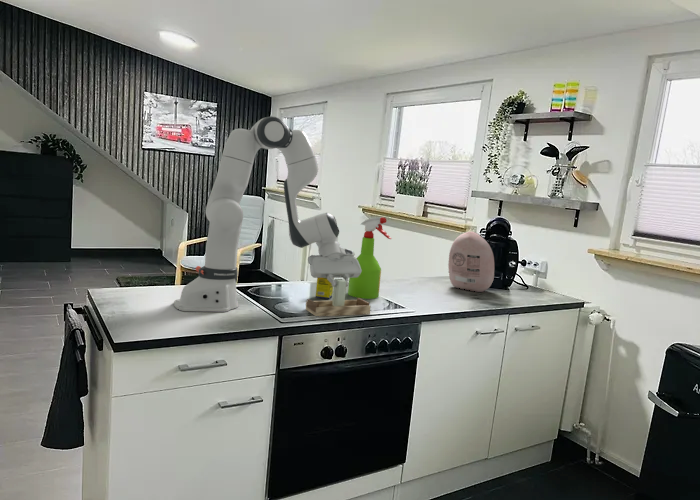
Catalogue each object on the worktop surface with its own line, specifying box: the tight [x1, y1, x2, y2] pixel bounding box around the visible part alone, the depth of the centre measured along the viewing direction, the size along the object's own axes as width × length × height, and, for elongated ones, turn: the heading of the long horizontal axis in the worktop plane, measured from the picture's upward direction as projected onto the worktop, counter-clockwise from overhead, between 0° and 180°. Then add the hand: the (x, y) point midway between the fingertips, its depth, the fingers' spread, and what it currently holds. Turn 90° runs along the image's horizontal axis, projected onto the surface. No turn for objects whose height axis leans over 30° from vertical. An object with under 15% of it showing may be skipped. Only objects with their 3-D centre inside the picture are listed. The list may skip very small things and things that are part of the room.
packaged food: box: [447, 231, 496, 293], centre depth 261 cm, size 22×20×30 cm
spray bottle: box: [347, 216, 393, 300], centre depth 225 cm, size 14×18×35 cm
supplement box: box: [315, 278, 335, 300], centre depth 216 cm, size 6×6×11 cm
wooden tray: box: [305, 298, 371, 317], centre depth 194 cm, size 22×10×4 cm, turn 118°
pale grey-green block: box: [332, 278, 347, 306], centre depth 194 cm, size 3×4×10 cm
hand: (340, 285), depth 193 cm, fingers closed on pale grey-green block, 3 cm apart
